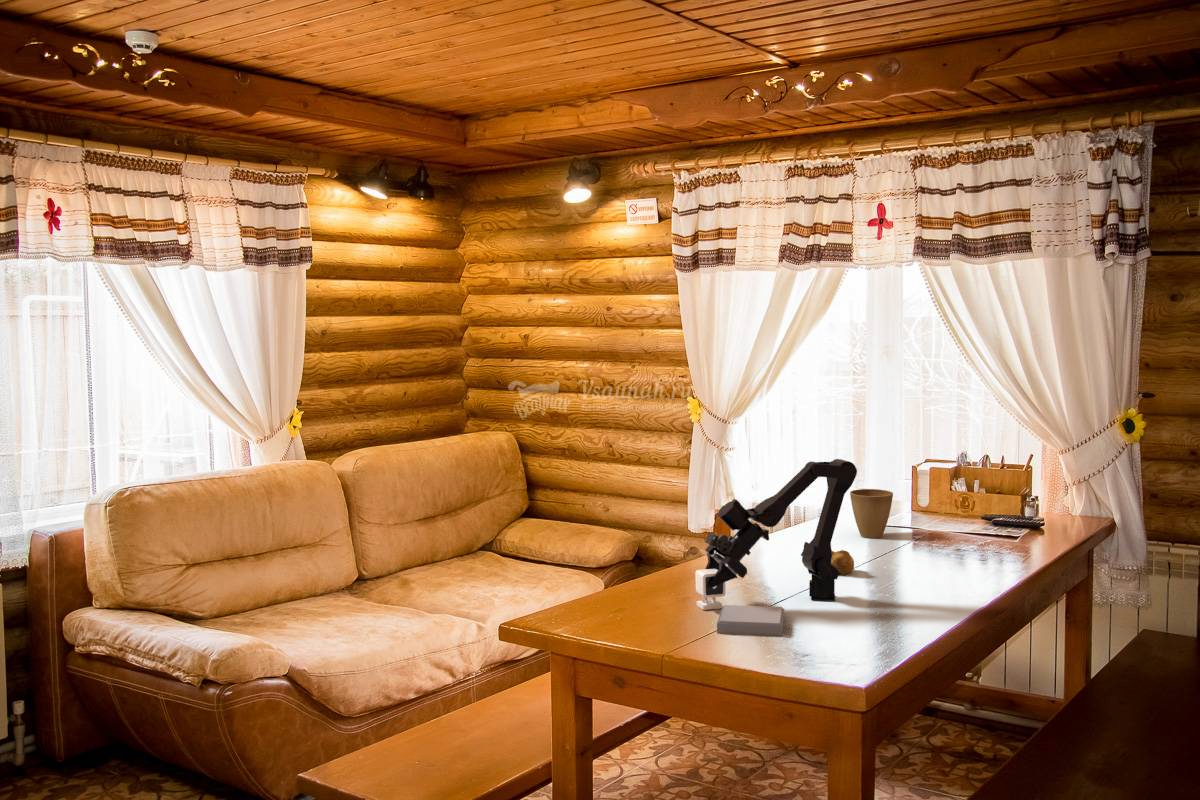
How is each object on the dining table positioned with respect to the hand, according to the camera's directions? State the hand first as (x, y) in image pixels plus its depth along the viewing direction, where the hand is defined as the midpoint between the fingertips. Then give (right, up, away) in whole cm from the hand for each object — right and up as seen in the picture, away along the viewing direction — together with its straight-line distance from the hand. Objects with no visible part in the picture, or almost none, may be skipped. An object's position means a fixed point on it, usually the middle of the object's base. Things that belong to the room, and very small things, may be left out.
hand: (705, 584), depth 285 cm
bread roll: (+44, -3, +39) cm, 59 cm away
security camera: (+2, -7, +1) cm, 7 cm away
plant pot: (+68, +1, +90) cm, 113 cm away
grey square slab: (+10, -8, -16) cm, 21 cm away
